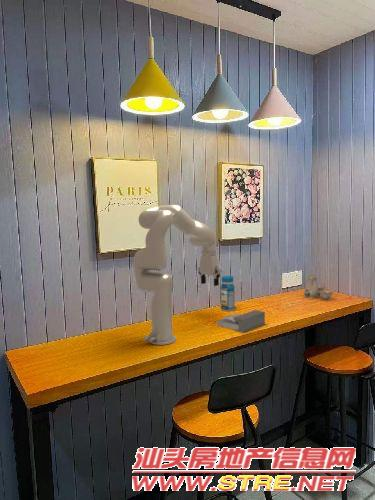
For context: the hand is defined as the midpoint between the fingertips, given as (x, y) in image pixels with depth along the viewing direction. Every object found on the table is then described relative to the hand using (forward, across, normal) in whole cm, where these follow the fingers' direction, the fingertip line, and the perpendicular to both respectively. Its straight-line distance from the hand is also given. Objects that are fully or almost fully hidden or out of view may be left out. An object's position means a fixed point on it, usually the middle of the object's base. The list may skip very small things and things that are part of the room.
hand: (209, 284), depth 204 cm
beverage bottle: (+19, -4, +20) cm, 28 cm away
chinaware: (+20, +21, +82) cm, 87 cm away
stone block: (+19, +15, 0) cm, 24 cm away
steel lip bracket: (+19, +21, 0) cm, 28 cm away
